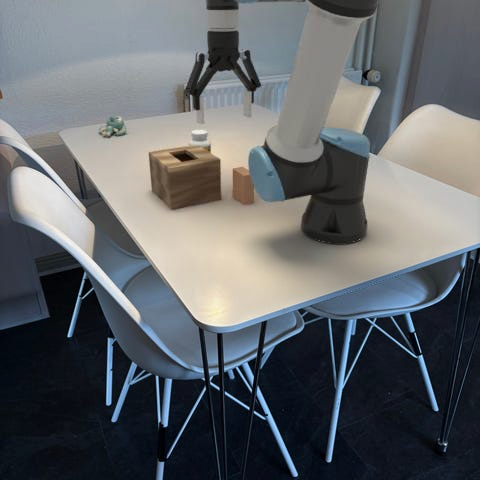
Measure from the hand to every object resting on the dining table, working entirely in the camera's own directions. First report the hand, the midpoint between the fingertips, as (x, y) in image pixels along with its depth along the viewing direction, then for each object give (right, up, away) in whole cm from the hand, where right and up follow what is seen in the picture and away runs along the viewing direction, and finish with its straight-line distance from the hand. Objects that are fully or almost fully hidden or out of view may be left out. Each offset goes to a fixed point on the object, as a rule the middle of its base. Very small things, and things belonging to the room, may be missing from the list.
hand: (224, 119), depth 127 cm
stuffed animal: (-43, +8, +57) cm, 72 cm away
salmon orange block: (+5, -20, +4) cm, 21 cm away
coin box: (-11, -19, +6) cm, 22 cm away
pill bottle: (-8, -10, +24) cm, 27 cm away
